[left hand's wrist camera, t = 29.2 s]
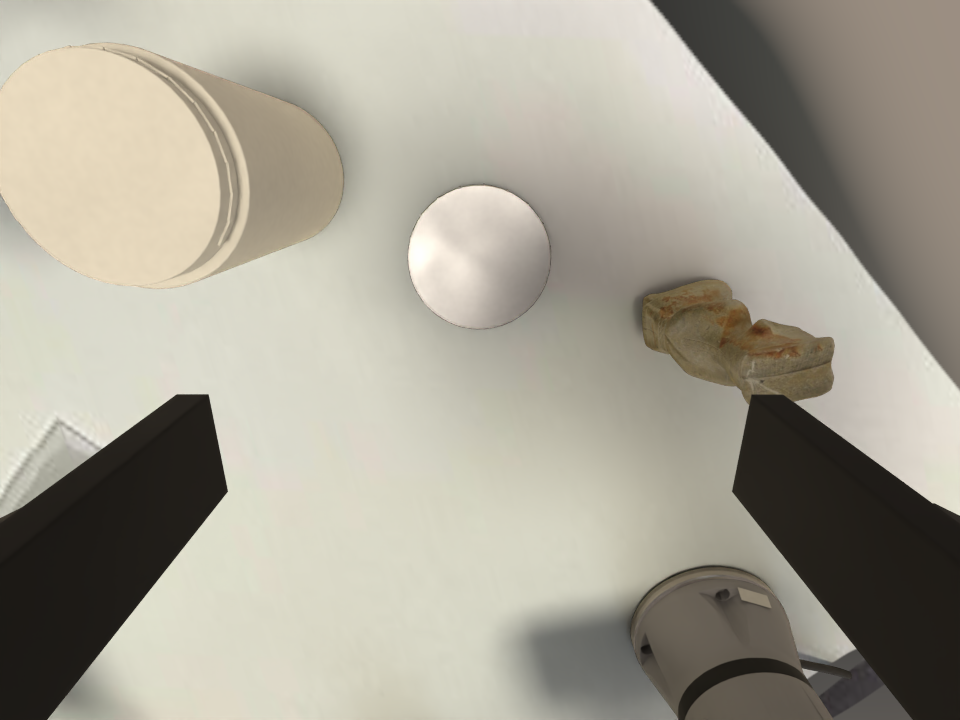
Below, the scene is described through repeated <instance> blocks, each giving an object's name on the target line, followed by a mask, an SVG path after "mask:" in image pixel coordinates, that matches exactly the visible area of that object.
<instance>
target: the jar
mask: <svg viewBox="0 0 960 720" xmlns="http://www.w3.org/2000/svg"><path fill="white" fill-rule="evenodd" d="M343 185H344V180H343V168H342V163H341V160H340V156H339V153H338V151H337V148H336V146H335V144H334V142H333V140H332V138H331V137H330V136H329V134H328V133H327V131H326V130H325V129H324V127H323V126H322V125H321V124H320V123H319V122H318V121H317V120H316V119H315V118H314V117H313V116H311V115H310V114H309V113H307V112H306V111H304V110H303V109H301V108H299V107H297V106H295V105H293V104H291V103H288V102H285V101H283V100H280V99H277V98H274V97H272V96H269V95H266V94H264V93H261V92H258V91H255V90H253V89H250V88H247V87H245V86H242V85H239V84H236V83H234V82H231V81H228V80H226V79H223V78H220V77H217V76H215V75H212V74H209V73H207V72H204V71H201V70H198V69H196V68H193V67H190V66H188V65H185V64H182V63H179V62H177V61H174V60H171V59H169V58H166V57H163V56H160V55H158V54H155V53H152V52H150V51H147V50H144V49H141V48H138V47H134V46H129V45H125V44H117V43H92V44H87V45H82V46H66V47H63V48H60V49H55V50H51V51H47V52H45V53H42V54H39V55H37V56H35V57H33V58H32V59H30V60H29V61H27V62H25V63H24V64H22V65H21V66H20V67H19V68H18V69H17V70H16V71H15V72H14V73H12V74H11V76H10V77H9V78H8V80H7V81H6V82H5V84H4V85H3V87H2V89H1V91H0V194H1V195H2V197H3V199H4V201H5V202H6V204H7V206H8V207H9V209H10V211H11V212H12V214H13V216H14V218H15V219H16V220H18V222H19V223H20V224H21V226H22V227H23V228H24V230H25V231H26V232H27V233H28V234H29V235H30V236H31V237H32V238H33V240H34V241H35V242H36V243H37V244H38V245H39V246H41V247H42V248H43V249H44V250H45V251H46V252H47V253H48V254H50V255H51V256H52V257H54V258H55V259H57V260H58V261H59V262H61V263H62V264H64V265H66V266H67V267H69V268H71V269H73V270H74V271H76V272H78V273H81V274H83V275H85V276H87V277H89V278H92V279H96V280H99V281H102V282H105V283H110V284H115V285H123V286H137V287H142V288H152V289H166V288H175V287H180V286H185V285H188V284H191V283H194V282H197V281H200V280H202V279H205V278H207V277H210V276H213V275H215V274H218V273H220V272H223V271H226V270H228V269H231V268H233V267H236V266H239V265H241V264H244V263H247V262H249V261H252V260H254V259H257V258H260V257H262V256H265V255H267V254H270V253H273V252H275V251H278V250H281V249H283V248H286V247H288V246H291V245H294V244H296V243H299V242H301V241H304V240H307V239H309V238H311V237H313V236H315V235H316V234H318V233H319V232H320V231H322V230H323V229H324V228H325V227H326V226H327V225H328V224H329V223H330V221H331V220H332V219H333V217H334V215H335V214H336V212H337V210H338V207H339V205H340V202H341V198H342V194H343Z"/></svg>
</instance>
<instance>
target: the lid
mask: <svg viewBox="0 0 960 720" xmlns="http://www.w3.org/2000/svg"><path fill="white" fill-rule="evenodd" d="M550 247H551V246H550V243H549V239H548V235H547V233H546V230H545V227H544V225H543V222H541V220H540V218H539V217H538V215H537V214H536V213H535V211H534V210H533V209H532V208H531V207H530V206H529V203H527V202H525V201H523V200H522V199H521V198H520V197H518V196H516V195H514V194H513V193H511V192H509V190H508V189H507V190H504V189H502V188H499V187H495V186H490V185H485V184H483V185H469V186H463V187H461V186H459V188H457V189H454V190H452V191H450V192H448V193H446V194H444V195H442V196H441V197H437V199H436V200H435V201H434V202H433V203H432V204H431V205H429V206H428V208H427V209H426V210H425V211H424V212H423V213H422V214H421V215H420V218H419V219H418V221H417V223H416V225H415V227H414V229H413V232H412V235H411V236H410V242H409V247H408V267H409V272H410V277H411V280H412V283H413V285H414V287H415V289H416V291H417V293H418V295H419V296H420V298H421V299H422V301H423V302H424V303H425V304H426V306H427V307H428V308H429V309H430V310H431V311H433V312H434V313H435V314H436V315H438V316H439V317H440V318H442V319H444V320H445V321H447V322H449V323H452V324H454V325H457V326H460V327H464V328H470V329H489V328H495V327H498V326H502V325H505V324H507V323H509V322H512V321H513V320H515V319H517V318H519V317H520V316H521V315H523V314H524V313H525V312H526V311H527V310H528V309H529V308H530V307H531V306H532V305H533V304H534V303H535V302H536V300H537V299H538V298H539V296H540V294H541V293H542V291H543V289H544V287H545V284H546V282H547V279H548V275H549V271H550V265H551V251H550Z"/></svg>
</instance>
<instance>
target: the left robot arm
mask: <svg viewBox="0 0 960 720" xmlns="http://www.w3.org/2000/svg"><path fill="white" fill-rule="evenodd" d="M227 492H228V490H227V485H226V480H225V475H224V470H223V465H222V460H221V455H220V450H219V445H218V440H217V435H216V429H215V424H214V419H213V414H212V409H211V404H210V399H209V394H177V395H175V396H174V397H173V398H171V399H170V400H169V401H167V402H166V403H164V404H163V405H162V406H160V407H159V408H158V409H156V410H155V411H154V412H152V413H151V414H149V415H148V416H147V417H145V418H144V419H143V420H141V421H140V422H138V423H137V424H136V425H134V426H133V427H132V428H130V429H129V430H128V431H126V432H125V433H123V434H122V435H121V436H119V437H118V438H117V439H115V440H114V441H112V442H111V443H110V444H108V445H107V446H106V447H104V448H103V449H101V450H100V451H99V452H97V453H96V454H95V455H93V456H92V457H91V458H89V459H88V460H86V461H85V462H84V463H82V464H81V465H80V466H78V467H77V468H75V469H74V470H73V471H71V472H70V473H69V474H67V475H66V476H64V477H63V478H62V479H60V480H59V481H58V482H56V483H55V484H54V485H52V486H51V487H49V488H48V489H47V490H45V491H44V492H43V493H41V494H40V495H38V496H37V497H36V498H34V499H33V500H32V501H30V502H29V503H28V504H26V505H25V506H23V507H22V508H20V509H18V510H16V511H14V512H12V513H10V514H8V515H6V516H4V517H2V518H0V720H47V719H48V718H49V717H50V715H51V714H52V713H53V712H54V710H55V709H56V708H57V707H58V705H59V704H60V703H61V702H62V700H63V699H64V698H65V697H66V695H67V694H68V693H69V691H70V690H71V689H72V688H73V686H74V685H75V684H76V683H77V681H78V680H79V679H80V678H81V676H82V675H83V674H84V673H85V671H86V670H87V669H88V667H89V666H90V665H91V664H92V662H93V661H94V660H95V659H96V657H97V656H98V655H99V654H100V652H101V651H102V650H103V649H104V647H105V646H106V645H107V643H108V642H109V641H110V640H111V638H112V637H113V636H114V635H115V633H116V632H117V631H118V630H119V628H120V627H121V626H122V625H123V623H124V622H125V621H126V619H127V618H128V617H129V616H130V614H131V613H132V612H133V611H134V609H135V608H136V607H137V606H138V604H139V603H140V602H141V601H142V599H143V598H144V597H145V596H146V594H147V593H148V592H149V590H150V589H151V588H152V587H153V585H154V584H155V583H156V582H157V580H158V579H159V578H160V577H161V575H162V574H163V573H164V572H165V570H166V569H167V568H168V566H169V565H170V564H171V563H172V561H173V560H174V559H175V558H176V556H177V555H178V554H179V553H180V551H181V550H182V549H183V548H184V546H185V545H186V544H187V542H188V541H189V540H190V539H191V537H192V536H193V535H194V534H195V532H196V531H197V530H198V529H199V527H200V526H201V525H202V524H203V522H204V521H205V520H206V518H207V517H208V516H209V515H210V513H211V512H212V511H213V510H214V508H215V507H216V506H217V505H218V503H219V502H220V501H221V500H222V498H223V497H224V496H225V495H226V493H227ZM732 492H733V493H734V495H735V496H736V497H737V498H738V500H739V501H740V502H741V503H742V505H743V506H744V507H745V508H746V510H747V511H748V512H749V513H750V515H751V516H752V517H753V518H754V520H755V521H756V522H757V524H758V525H759V526H760V527H761V529H762V530H763V531H764V532H765V534H766V535H767V536H768V537H769V539H770V540H771V541H772V542H773V544H774V545H775V546H776V548H777V549H778V550H779V551H780V553H781V554H782V555H783V556H784V558H785V559H786V560H787V561H788V563H789V564H790V565H791V566H792V568H793V569H794V570H795V572H796V573H797V574H798V575H799V577H800V578H801V579H802V580H803V582H804V583H805V584H806V585H807V587H808V588H809V589H810V590H811V592H812V593H813V594H814V596H815V597H816V598H817V599H818V601H819V602H820V603H821V604H822V606H823V607H824V608H825V609H826V611H827V612H828V613H829V614H830V616H831V617H832V618H833V619H834V621H835V622H836V623H837V625H838V626H839V627H840V628H841V630H842V631H843V632H844V633H845V635H846V636H847V637H848V638H849V640H850V641H851V642H852V643H853V645H854V646H855V647H856V649H857V650H858V651H859V652H860V654H861V655H862V656H863V657H864V659H865V660H866V661H867V662H868V664H869V665H870V666H871V667H872V669H873V670H874V671H875V673H876V674H877V675H878V676H879V678H880V679H881V680H882V681H883V683H884V684H885V685H886V686H887V688H888V689H889V690H890V691H891V693H892V694H893V695H894V696H895V698H896V699H897V700H898V701H899V703H900V704H901V705H902V707H903V708H904V709H905V710H906V712H907V713H908V714H909V715H910V717H911V718H912V719H913V720H960V516H959V515H957V514H955V513H953V512H951V511H949V510H947V509H945V508H943V507H941V506H939V505H937V504H932V503H931V502H930V501H928V500H927V499H926V498H924V497H923V496H922V495H920V494H919V493H917V492H916V491H915V490H913V489H912V488H911V487H909V486H908V485H906V484H905V483H904V482H902V481H901V480H900V479H898V478H897V477H896V476H894V475H893V474H891V473H890V472H889V471H887V470H886V469H885V468H883V467H882V466H880V465H879V464H878V463H876V462H875V461H874V460H872V459H871V458H869V457H868V456H867V455H865V454H864V453H863V452H861V451H860V450H859V449H857V448H856V447H854V446H853V445H852V444H850V443H849V442H848V441H846V440H845V439H843V438H842V437H841V436H839V435H838V434H837V433H835V432H834V431H832V430H831V429H830V428H828V427H827V426H826V425H824V424H823V423H822V422H820V421H819V420H817V419H816V418H815V417H813V416H812V415H811V414H809V413H808V412H806V411H805V410H804V409H802V408H801V407H800V406H798V405H797V404H796V403H794V402H793V401H791V400H790V399H789V398H787V397H786V396H785V395H783V394H751V399H750V404H749V409H748V414H747V419H746V424H745V429H744V434H743V440H742V445H741V450H740V455H739V460H738V465H737V470H736V475H735V480H734V485H733V490H732ZM631 640H632V644H633V647H634V650H635V654H636V657H637V659H638V661H639V663H640V665H641V667H642V669H643V670H644V672H645V673H646V675H647V676H648V677H649V679H650V680H651V682H652V683H653V684H654V686H655V687H656V688H657V690H658V691H659V692H660V694H661V695H662V696H663V698H664V699H665V700H666V702H667V703H668V705H669V706H670V707H671V709H672V710H673V711H674V713H675V714H676V715H677V717H678V720H833V718H832V717H831V715H830V714H829V712H828V710H827V709H826V707H825V706H824V704H823V703H822V701H821V700H820V698H819V697H818V695H817V694H816V693H815V691H814V689H813V688H812V686H811V685H810V683H809V682H808V680H807V678H806V677H805V675H804V674H803V671H802V668H804V669H808V670H813V671H819V672H824V673H828V674H833V675H837V676H840V677H843V678H846V679H851V678H852V675H851V673H850V672H849V671H846V670H844V669H841V668H837V667H833V666H829V665H824V664H819V663H814V662H809V661H805V660H801V659H799V656H798V653H797V649H796V645H795V642H794V638H793V635H792V631H791V627H790V623H789V620H788V618H787V615H786V613H785V610H784V608H783V606H782V605H781V603H780V602H779V600H778V599H777V597H776V596H775V594H774V593H773V592H772V590H771V589H770V588H769V587H768V586H767V585H766V584H765V583H764V582H763V581H761V580H760V579H759V578H757V577H755V576H753V575H751V574H749V573H747V572H744V571H741V570H737V569H732V568H724V567H709V568H700V569H695V570H691V571H687V572H684V573H681V574H678V575H676V576H674V577H672V578H670V579H668V580H666V581H664V582H663V583H661V584H660V585H658V586H657V587H655V588H654V589H653V590H652V591H651V592H650V593H649V594H648V595H647V596H646V597H645V598H644V599H643V600H642V601H641V603H640V604H639V606H638V607H637V609H636V611H635V613H634V616H633V619H632V623H631Z"/></svg>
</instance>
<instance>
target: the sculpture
mask: <svg viewBox="0 0 960 720" xmlns="http://www.w3.org/2000/svg"><path fill="white" fill-rule="evenodd" d="M642 325H643V335H644V341H645V344H646V346H647V347H649V348H651V349H652V350H655V351H658V352H662V353H666V354H670V355H671V356H672V358H673V359H674V360H675V361H676V362H677V363H678V365H679V366H680V367H681V368H682V369H683V370H684V371H685V372H686V373H687V374H689V375H691V376H694V377H697V378H700V379H703V380H707V381H710V382H714V383H717V384H721V385H725V386H737V387H738V388H739V389H740V390H741V391H742V394H743V397H744V399H745V400H746V402H747V403H748V404H750V399H751V394H783V395H785V396H786V397H787V398H789V399H790V400H791V401H793V402H794V401H798V400H803V399H808V398H813V397H818V396H820V395H823V394H825V393H827V392H828V391H830V390H831V388H832V385H833V381H834V375H833V372H832V368H831V361H832V357H833V353H834V346H835V345H834V340H833V338H831V337H823V338H815V337H814V336H812V335H810V334H809V333H807V332H805V331H803V330H801V329H800V328H798V327H794V326H787V325H781V324H778V323H774V322H771V321H768V320H765V319H760V320H758V321H757V322H756V323H755V324H754V325H753V326H752V323H751V319H750V314H749V311H748V309H747V307H746V306H745V305H744V304H743V303H742V302H740V301H738V300H732V291H731V288H730V287H729V286H728V285H727V284H726V283H725V282H723V281H720V280H703V281H698V282H694V283H691V284H687V285H684V286H681V287H678V288H675V289H672V290H669V291H666V292H662V293H658V294H650V295H647V296H646V297H644V299H643V310H642Z"/></svg>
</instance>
